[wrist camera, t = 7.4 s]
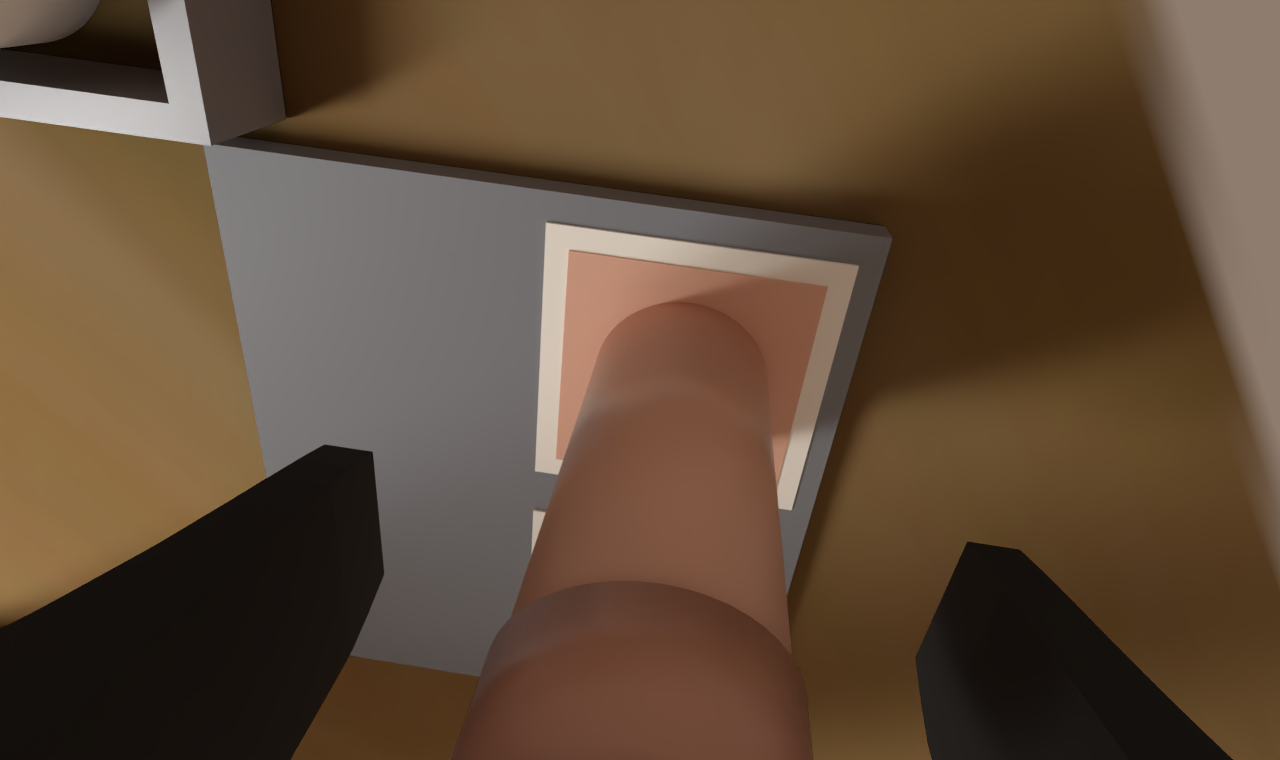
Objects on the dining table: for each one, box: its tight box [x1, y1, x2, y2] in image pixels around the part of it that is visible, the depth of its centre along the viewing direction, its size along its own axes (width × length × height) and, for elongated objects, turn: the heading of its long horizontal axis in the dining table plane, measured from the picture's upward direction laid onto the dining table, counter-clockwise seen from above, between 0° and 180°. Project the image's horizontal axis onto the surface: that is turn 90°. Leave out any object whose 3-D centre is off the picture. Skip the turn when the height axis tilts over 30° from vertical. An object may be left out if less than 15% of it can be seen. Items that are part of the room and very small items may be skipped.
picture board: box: [203, 137, 893, 677], centre depth 15 cm, size 12×11×1 cm
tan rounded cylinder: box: [451, 302, 813, 760], centre depth 9 cm, size 3×3×8 cm
